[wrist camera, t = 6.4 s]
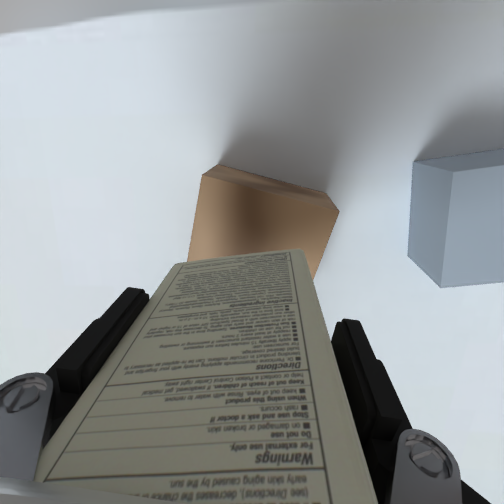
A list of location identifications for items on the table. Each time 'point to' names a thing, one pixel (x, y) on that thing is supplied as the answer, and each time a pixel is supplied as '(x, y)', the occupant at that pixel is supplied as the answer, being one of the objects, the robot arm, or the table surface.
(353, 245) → the table surface
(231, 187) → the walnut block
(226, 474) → the skincare box
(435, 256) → the slate block
